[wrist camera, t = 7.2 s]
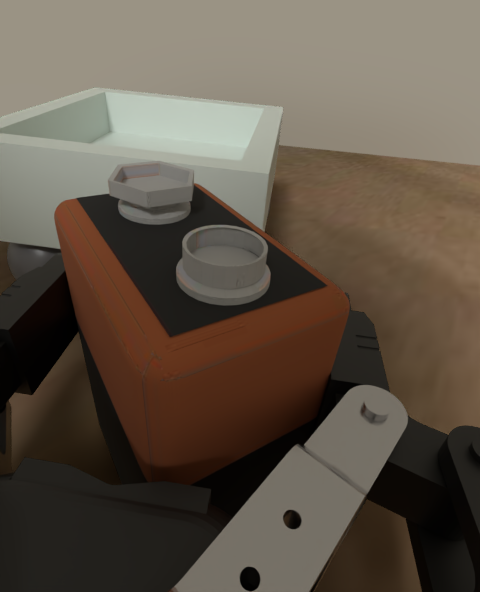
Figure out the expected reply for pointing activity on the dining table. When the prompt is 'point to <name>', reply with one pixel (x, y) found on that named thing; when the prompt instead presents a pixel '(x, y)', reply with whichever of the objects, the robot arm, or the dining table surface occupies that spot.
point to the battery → (195, 332)
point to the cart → (126, 157)
